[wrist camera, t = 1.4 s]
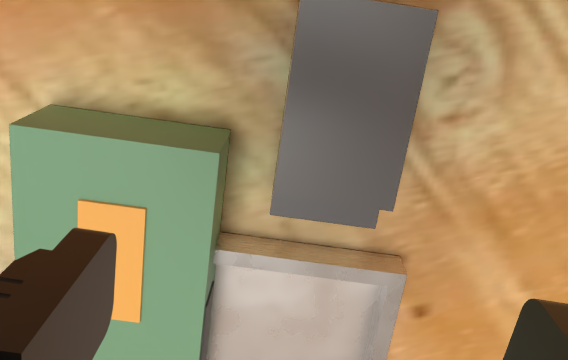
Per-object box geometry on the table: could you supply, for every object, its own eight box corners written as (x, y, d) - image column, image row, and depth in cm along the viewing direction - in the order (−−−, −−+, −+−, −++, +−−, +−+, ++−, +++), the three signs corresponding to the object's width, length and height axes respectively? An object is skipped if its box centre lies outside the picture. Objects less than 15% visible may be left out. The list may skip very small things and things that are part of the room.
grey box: (300, -11, 24) (302, -10, 19) (408, 5, 24) (438, 10, 19) (272, 191, 28) (267, 238, 23) (367, 204, 28) (383, 254, 23)
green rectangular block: (50, 104, 26) (6, 125, 22) (232, 130, 27) (221, 155, 23) (54, 418, 33) (22, 476, 29) (199, 436, 33) (186, 496, 30)
